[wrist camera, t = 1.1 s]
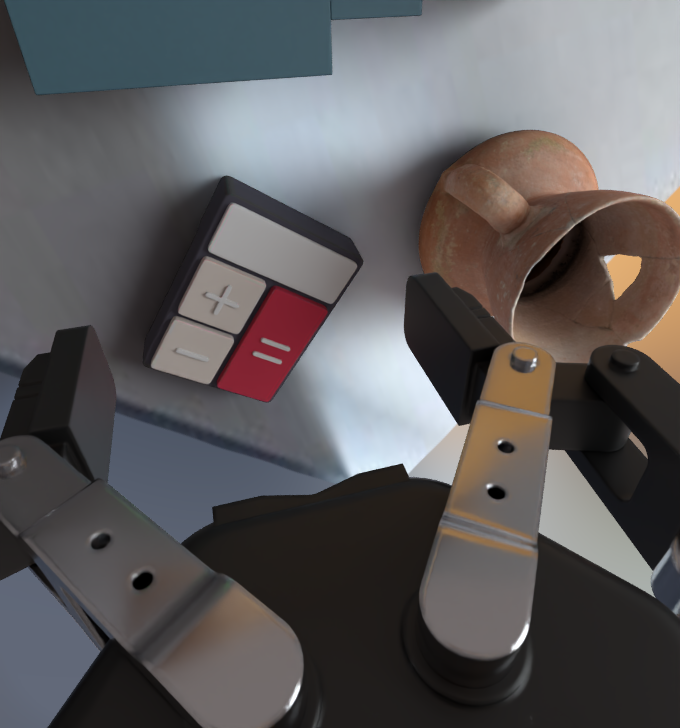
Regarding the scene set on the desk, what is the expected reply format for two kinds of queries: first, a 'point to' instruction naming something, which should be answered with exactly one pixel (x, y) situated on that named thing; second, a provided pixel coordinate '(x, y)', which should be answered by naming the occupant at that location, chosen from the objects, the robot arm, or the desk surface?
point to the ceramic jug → (549, 245)
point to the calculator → (249, 294)
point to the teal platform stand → (180, 40)
